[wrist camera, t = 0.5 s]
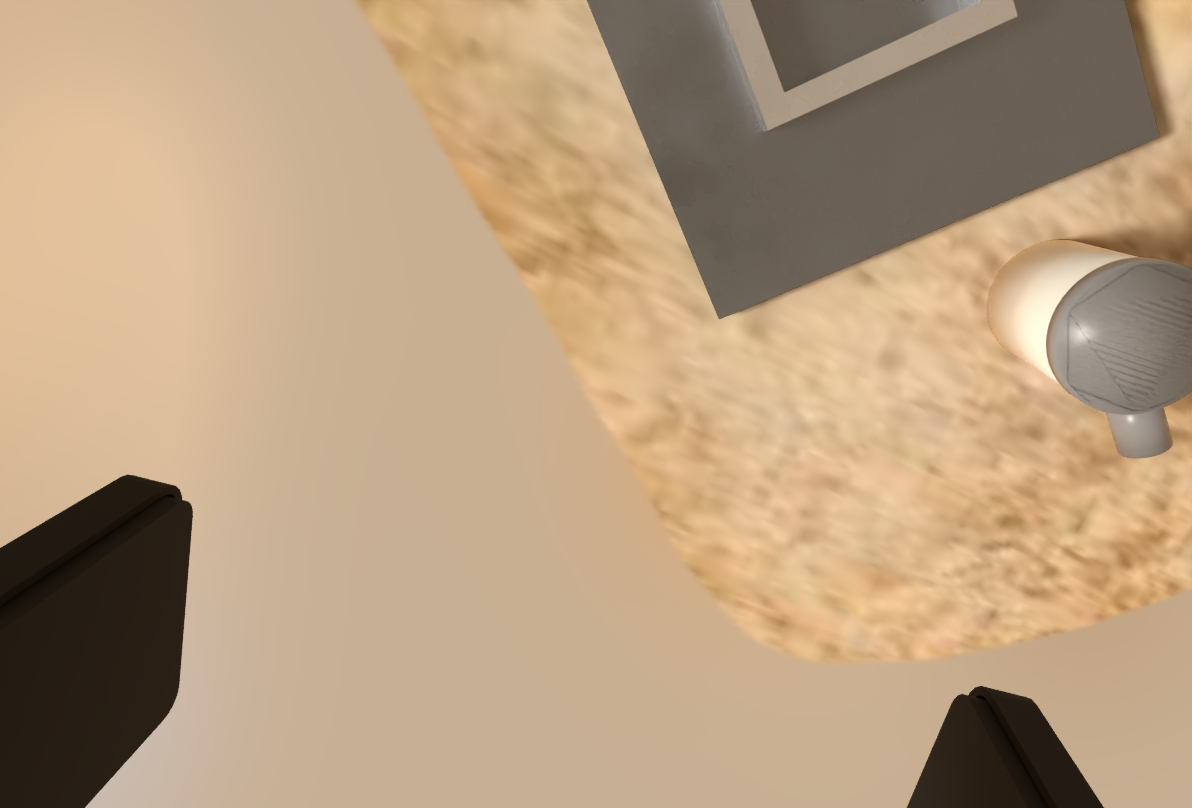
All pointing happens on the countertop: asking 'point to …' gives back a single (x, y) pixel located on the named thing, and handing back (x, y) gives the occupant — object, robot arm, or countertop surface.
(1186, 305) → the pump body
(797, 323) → the countertop surface
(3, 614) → the robot arm
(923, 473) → the countertop surface
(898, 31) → the mount plate
